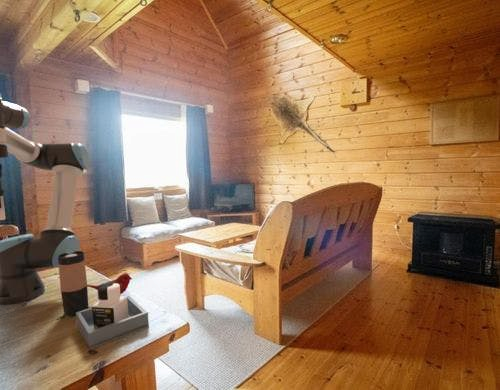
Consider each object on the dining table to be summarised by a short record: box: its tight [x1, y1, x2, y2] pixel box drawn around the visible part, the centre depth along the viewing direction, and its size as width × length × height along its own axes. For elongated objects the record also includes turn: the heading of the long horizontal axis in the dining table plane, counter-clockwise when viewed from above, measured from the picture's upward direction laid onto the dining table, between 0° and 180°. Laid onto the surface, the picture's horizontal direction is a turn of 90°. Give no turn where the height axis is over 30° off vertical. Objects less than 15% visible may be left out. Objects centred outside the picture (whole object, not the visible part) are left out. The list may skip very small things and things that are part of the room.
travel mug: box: [58, 250, 89, 318], centre depth 100 cm, size 8×8×20 cm
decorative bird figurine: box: [87, 272, 133, 295], centre depth 109 cm, size 3×18×10 cm, turn 89°
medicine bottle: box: [91, 283, 129, 329], centre depth 90 cm, size 7×7×12 cm
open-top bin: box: [75, 295, 150, 350], centre depth 91 cm, size 16×16×4 cm
